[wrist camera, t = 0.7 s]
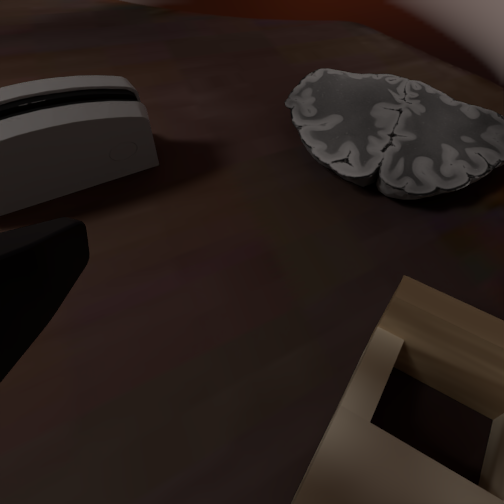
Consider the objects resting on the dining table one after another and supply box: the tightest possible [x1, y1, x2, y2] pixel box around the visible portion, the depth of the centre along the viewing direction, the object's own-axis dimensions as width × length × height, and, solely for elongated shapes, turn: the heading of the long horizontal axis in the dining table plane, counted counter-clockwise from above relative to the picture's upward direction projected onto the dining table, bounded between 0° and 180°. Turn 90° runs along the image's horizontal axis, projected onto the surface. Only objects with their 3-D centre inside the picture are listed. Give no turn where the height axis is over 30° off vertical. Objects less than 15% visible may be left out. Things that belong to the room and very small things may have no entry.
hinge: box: [0, 75, 159, 216], centre depth 30 cm, size 17×5×10 cm, turn 121°
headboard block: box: [291, 275, 504, 504], centre depth 18 cm, size 16×9×6 cm, turn 148°
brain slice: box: [285, 69, 504, 200], centre depth 37 cm, size 20×17×3 cm
